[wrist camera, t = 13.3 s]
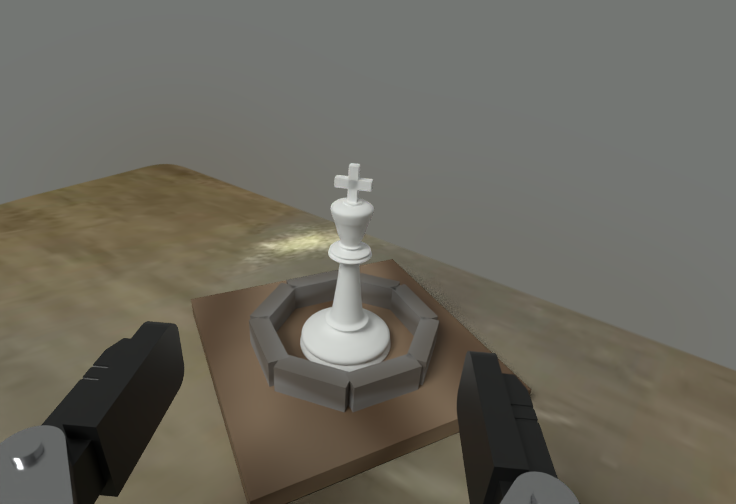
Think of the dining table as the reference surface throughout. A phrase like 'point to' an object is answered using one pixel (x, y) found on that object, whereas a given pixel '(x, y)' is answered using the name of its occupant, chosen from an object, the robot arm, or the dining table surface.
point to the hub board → (311, 431)
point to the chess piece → (348, 291)
